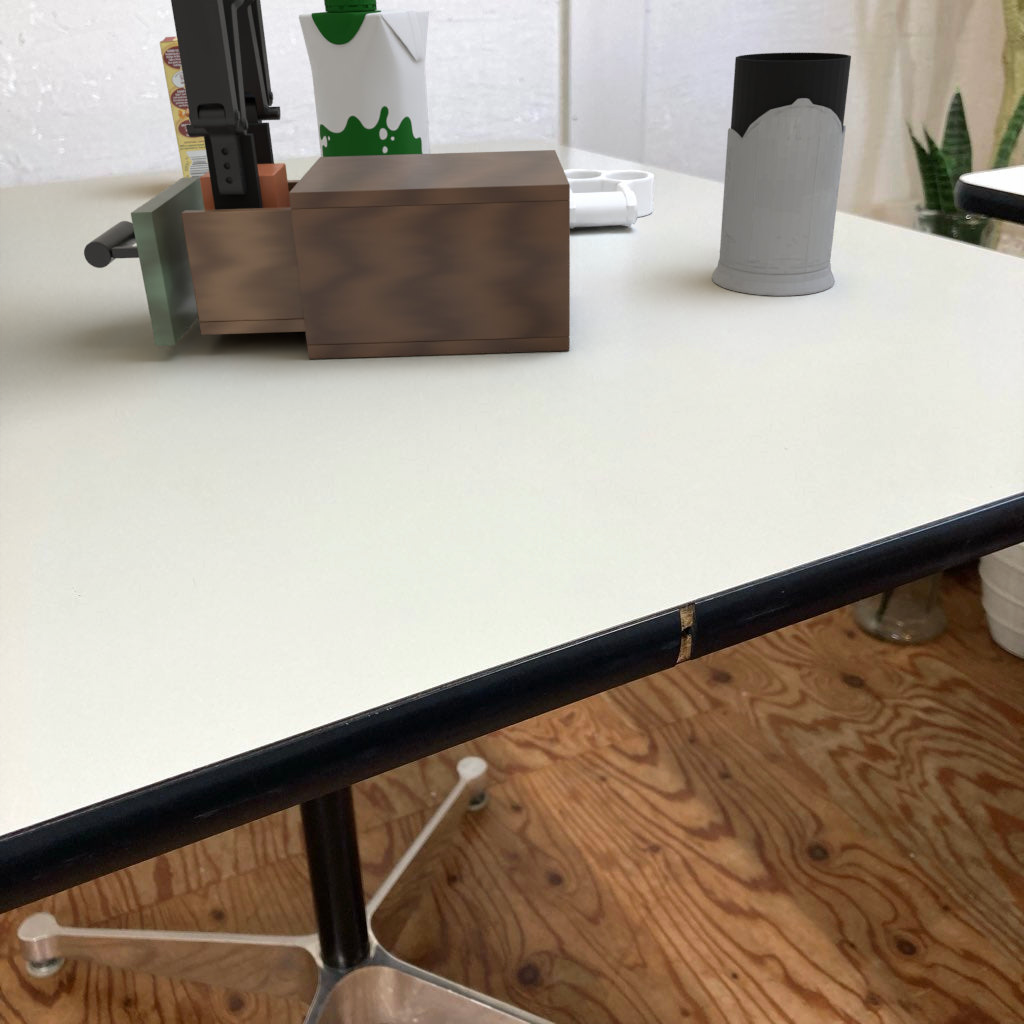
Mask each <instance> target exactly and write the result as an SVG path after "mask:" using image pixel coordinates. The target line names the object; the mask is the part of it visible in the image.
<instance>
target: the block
mask: <svg viewBox="0 0 1024 1024" xmlns="http://www.w3.org/2000/svg"><path fill="white" fill-rule="evenodd" d="M257 166H258V173H259V181H260V189H261V196H262V204H263V208H283V207H290V200H289V189H288V181H287V180H288V173H287V164H286V163H285V162H279V163H278V162H277V163H274V164H257ZM200 184H201V190H202V196H203V202H204V209H205V210H215V206H214V199H213V193H212V186H211V180H210V173H209V171H208V172H207V173H205V174H204V175H203V176H201V177H200Z"/></svg>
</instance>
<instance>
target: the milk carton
mask: <svg viewBox="0 0 1024 1024" xmlns="http://www.w3.org/2000/svg"><path fill="white" fill-rule="evenodd" d="M323 2H324V9H325V11H322V12H312V13H311V12H310V13H302V14H299V15H298V20H299V23H300V28H301V32H302V36H303V40H304V45H305V48H306V52H307V56H308V60H309V65H310V68H311V75H312V76H311V77H312V85H313V95H314V103H315V112H316V113H315V114H316V122H317V132H318V141H319V150H320V157H339V156H372V155H406V154H431V147H430V146H431V145H430V129H429V113H428V95H427V79H426V57H427V56H426V53H427V42H428V41H427V40H428V27H429V17H430V16H429V14H430V10H424V9H423V10H421V9H420V10H415V9H406V8H405V9H402V8H378V6H377V3H378V2H377V0H323Z"/></svg>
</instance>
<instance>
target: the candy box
mask: <svg viewBox="0 0 1024 1024" xmlns="http://www.w3.org/2000/svg"><path fill="white" fill-rule="evenodd" d="M159 47H160V52H161V59H162V65H163V71H164V76H165V82H166V87H167V93H168V98H169V103H170V109H171V110H170V111H171V114H172V120H173V126H174V132H175V137H176V138H175V139H176V142H177V149H178V153H179V154H178V155H179V159H180V164H181V171H182V176H183V177H201V176H203V175H204V174H205V173H207V172H208V171H209V167H208V161H207V154H206V148H205V141H204V137H190V136H189V135H188V132H187V127H186V125H191V122H190V120H189V108H188V102H187V96H186V90H185V84H184V77H183V71H182V65H181V59H180V53H179V47H178V41H177V36H165V37H164V39H162V40H161V41H159ZM183 177H182V178H183Z"/></svg>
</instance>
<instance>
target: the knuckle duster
mask: <svg viewBox="0 0 1024 1024" xmlns="http://www.w3.org/2000/svg"><path fill="white" fill-rule="evenodd" d="M563 170H564V172H565V175H566V177H567V180H568V182H569V184H570V200H569V201H570V229H575V228H584V227H585V228H586V227H606V226H607V227H608V226H622V227H632V226H633V225H635V224H636V223H637V221H638V218H641V217H646V216H649V215H651V214H652V213H653V211H654V205H655V201H654V200H655V175H654V173H652V172H650V171H646V170H639V169H611V170H610V169H609V170H608V169H607V170H606V169H605V170H604V169H590V168H569V169H563Z"/></svg>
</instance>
